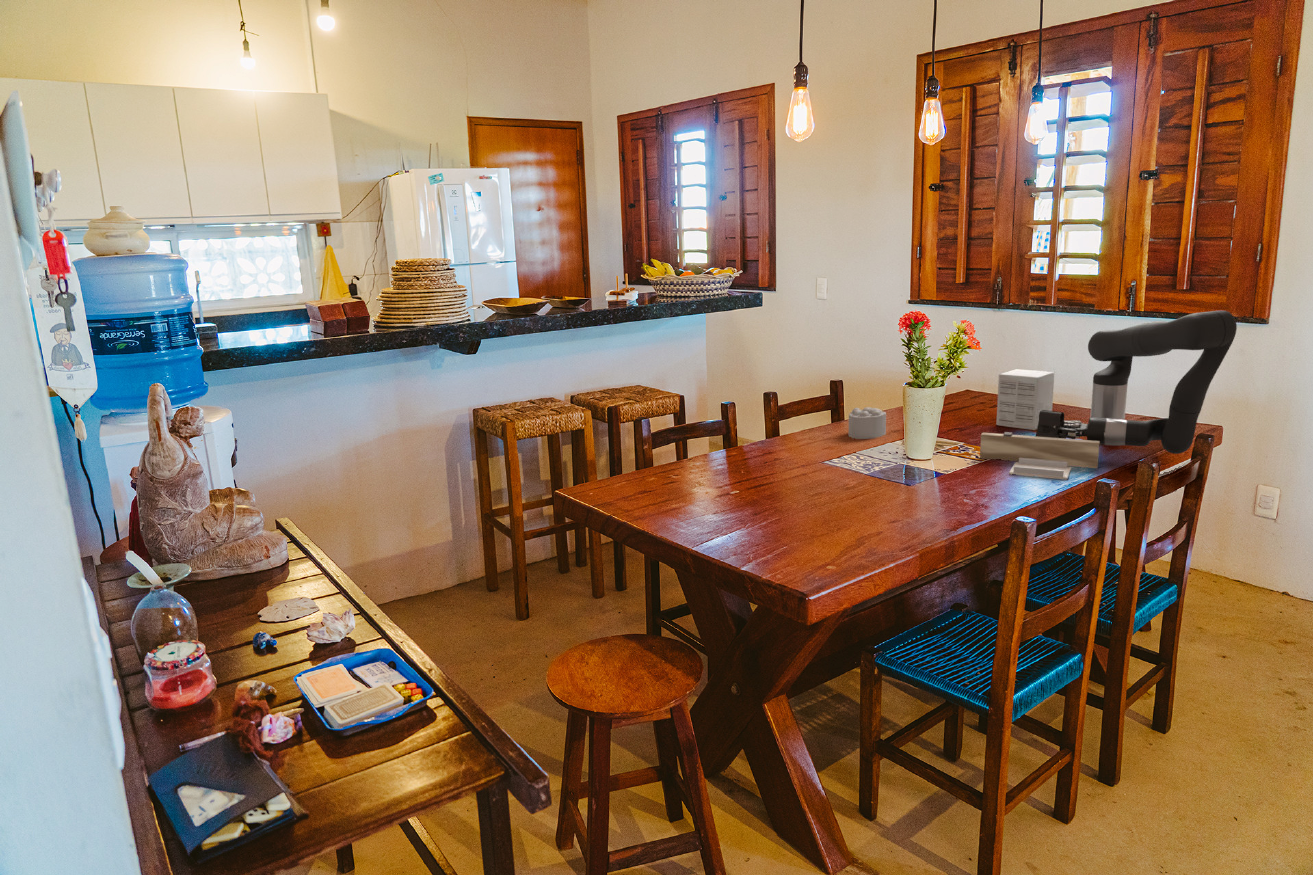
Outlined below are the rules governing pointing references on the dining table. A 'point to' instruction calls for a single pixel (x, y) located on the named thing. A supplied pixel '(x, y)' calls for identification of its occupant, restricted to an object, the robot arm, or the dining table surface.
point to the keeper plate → (1041, 468)
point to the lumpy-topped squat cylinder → (867, 423)
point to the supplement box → (1024, 397)
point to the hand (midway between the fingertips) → (1039, 427)
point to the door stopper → (1050, 422)
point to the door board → (1039, 449)
